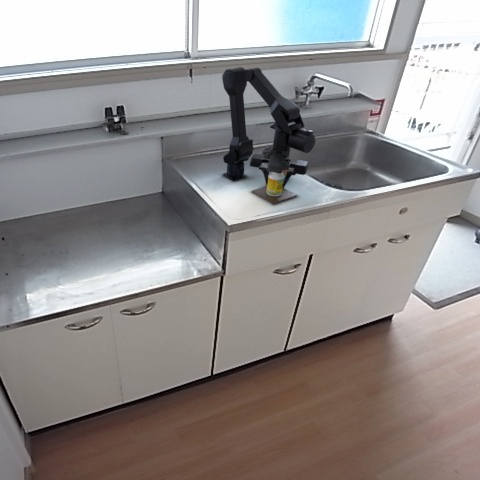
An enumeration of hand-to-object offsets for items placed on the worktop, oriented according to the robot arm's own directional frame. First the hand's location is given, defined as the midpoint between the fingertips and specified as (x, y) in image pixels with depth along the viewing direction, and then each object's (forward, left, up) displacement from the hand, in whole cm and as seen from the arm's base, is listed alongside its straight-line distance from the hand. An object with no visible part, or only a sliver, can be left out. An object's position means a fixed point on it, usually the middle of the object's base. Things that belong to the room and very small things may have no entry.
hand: (275, 186), depth 139 cm
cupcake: (-7, +11, -3) cm, 14 cm away
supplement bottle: (0, 0, -3) cm, 3 cm away
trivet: (0, 0, -3) cm, 3 cm away
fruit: (-21, +19, -3) cm, 29 cm away
